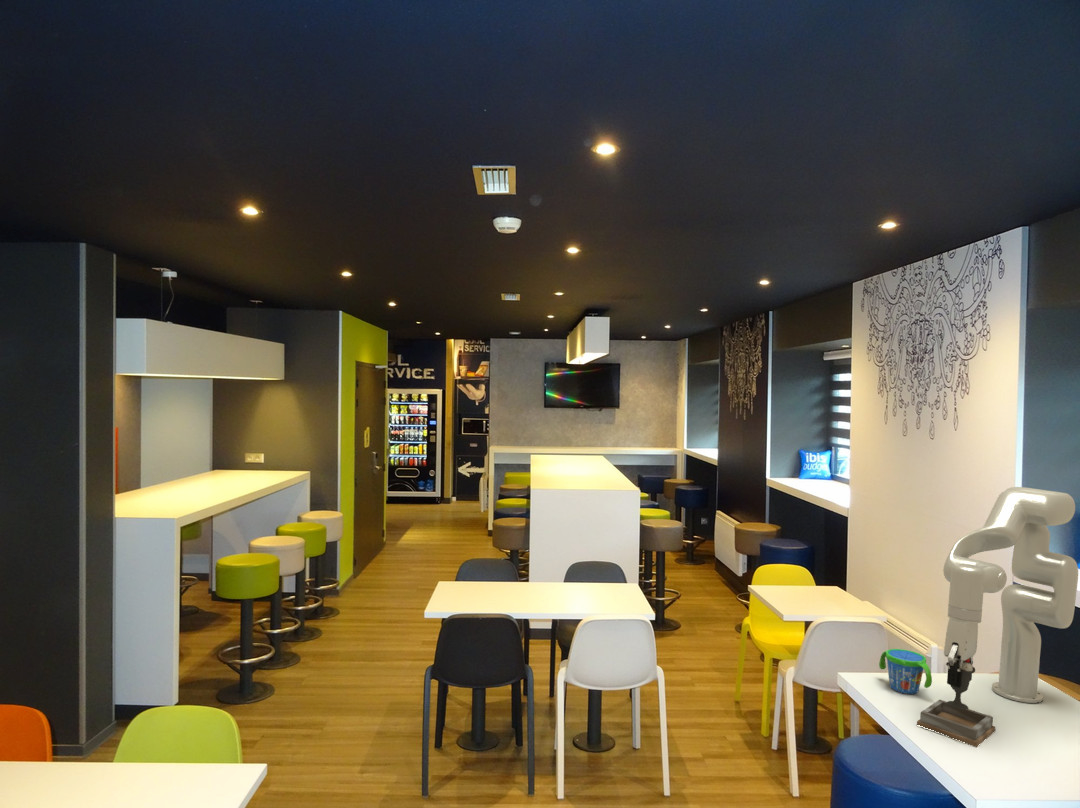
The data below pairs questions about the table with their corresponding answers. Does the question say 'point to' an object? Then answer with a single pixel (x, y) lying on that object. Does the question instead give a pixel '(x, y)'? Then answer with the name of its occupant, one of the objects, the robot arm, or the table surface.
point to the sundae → (966, 676)
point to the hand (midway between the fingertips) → (959, 681)
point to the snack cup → (905, 670)
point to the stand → (957, 723)
